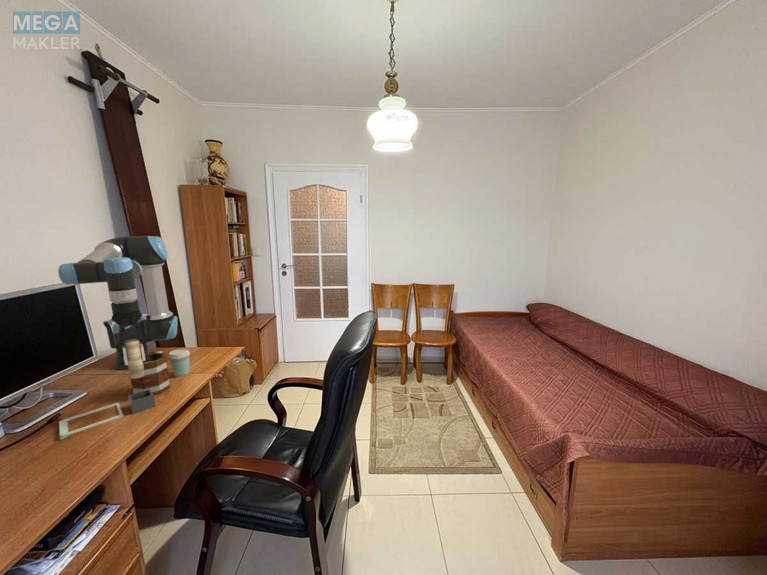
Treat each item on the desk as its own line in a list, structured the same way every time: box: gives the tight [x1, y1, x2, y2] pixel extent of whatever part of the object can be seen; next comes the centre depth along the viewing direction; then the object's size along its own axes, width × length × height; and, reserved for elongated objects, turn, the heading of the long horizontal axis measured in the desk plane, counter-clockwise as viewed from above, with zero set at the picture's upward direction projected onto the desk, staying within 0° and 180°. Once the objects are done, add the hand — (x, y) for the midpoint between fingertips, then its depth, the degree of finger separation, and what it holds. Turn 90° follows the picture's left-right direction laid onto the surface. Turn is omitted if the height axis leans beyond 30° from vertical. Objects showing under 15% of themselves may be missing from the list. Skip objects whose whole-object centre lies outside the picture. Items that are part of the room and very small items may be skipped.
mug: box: [130, 350, 171, 397], centre depth 131 cm, size 20×14×15 cm
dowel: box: [124, 339, 145, 380], centre depth 114 cm, size 4×4×14 cm
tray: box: [58, 402, 124, 441], centre depth 109 cm, size 12×16×1 cm
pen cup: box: [127, 389, 156, 415], centre depth 117 cm, size 7×7×6 cm
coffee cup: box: [167, 348, 191, 378], centre depth 142 cm, size 9×8×12 cm
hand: (135, 361), depth 114 cm, fingers closed on dowel, 4 cm apart
